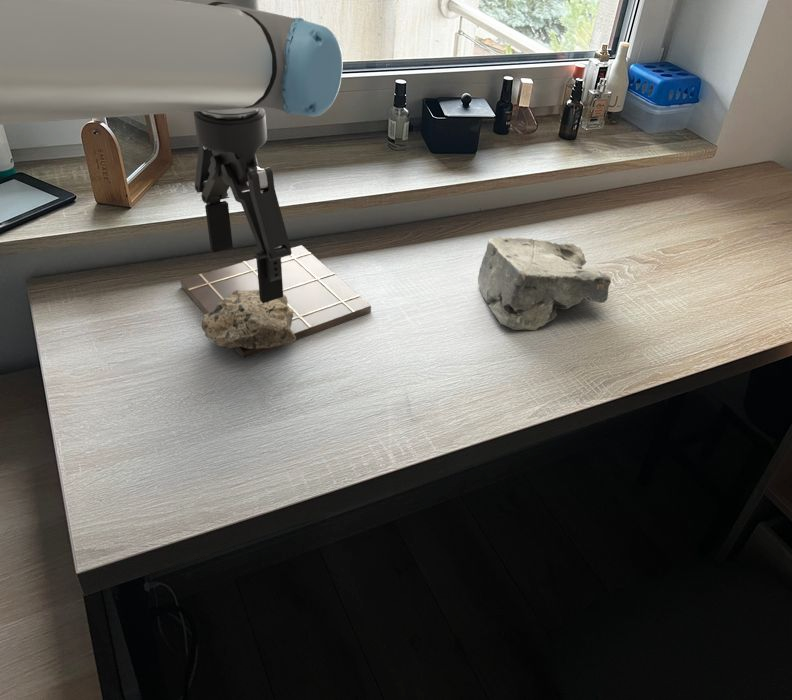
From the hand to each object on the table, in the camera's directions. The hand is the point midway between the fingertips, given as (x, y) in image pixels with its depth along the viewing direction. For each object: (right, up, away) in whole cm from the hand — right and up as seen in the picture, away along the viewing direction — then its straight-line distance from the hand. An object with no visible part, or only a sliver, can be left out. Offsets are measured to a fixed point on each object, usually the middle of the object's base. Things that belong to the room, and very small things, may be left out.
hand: (245, 273), depth 91 cm
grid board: (0, -2, +15) cm, 15 cm away
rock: (-1, -7, +6) cm, 10 cm away
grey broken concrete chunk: (+39, -2, +22) cm, 45 cm away
